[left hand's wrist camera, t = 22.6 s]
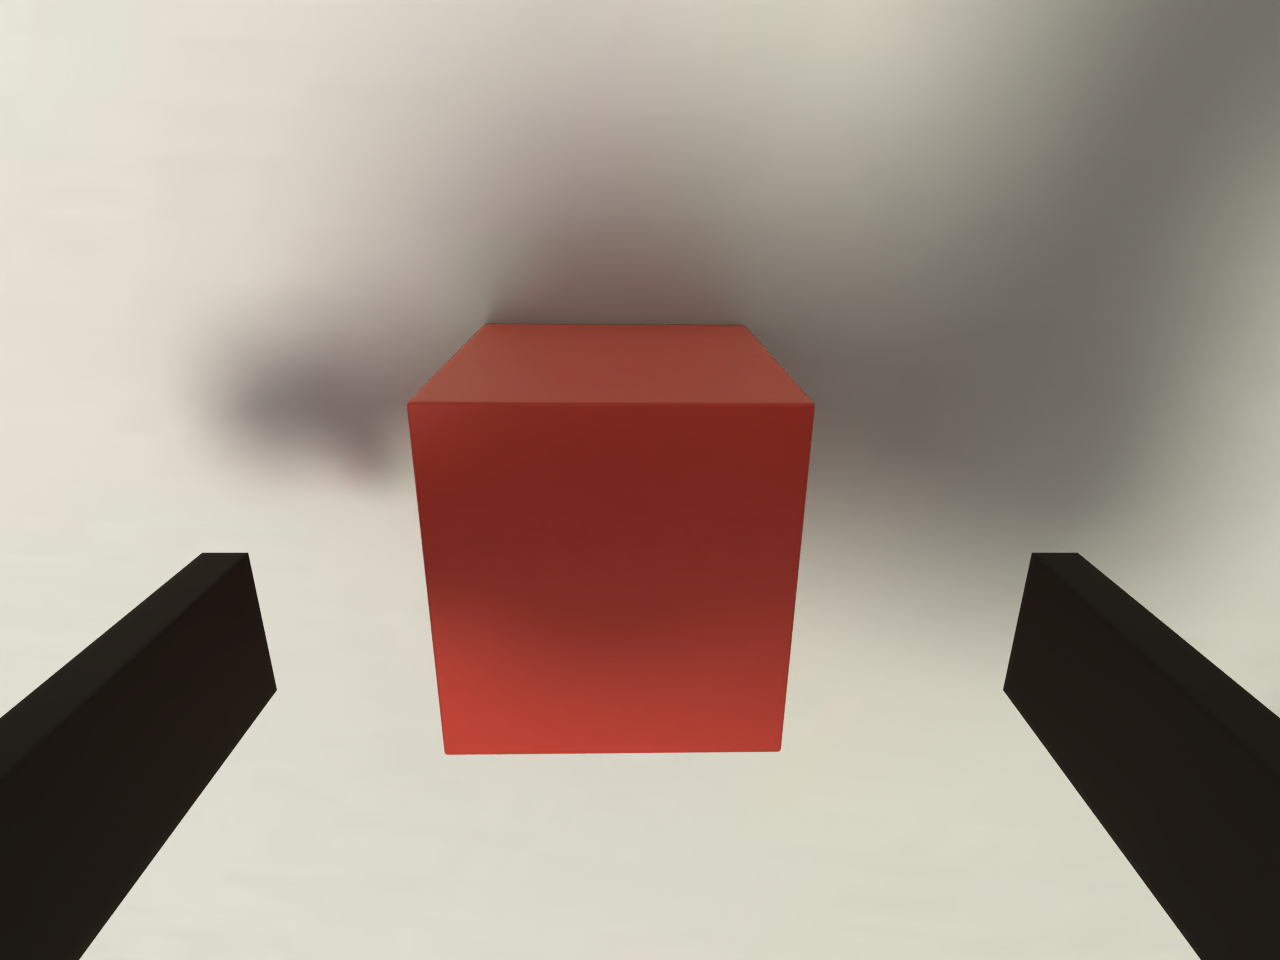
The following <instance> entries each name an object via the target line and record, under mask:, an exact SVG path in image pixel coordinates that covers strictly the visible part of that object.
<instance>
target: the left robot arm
mask: <svg viewBox="0 0 1280 960" xmlns="http://www.w3.org/2000/svg"><path fill="white" fill-rule="evenodd" d="M276 690H277V688H276V683H275V679H274V674H273V669H272V664H271V660H270V655H269V650H268V645H267V641H266V636H265V631H264V626H263V621H262V617H261V612H260V607H259V602H258V598H257V593H256V588H255V583H254V579H253V574H252V569H251V564H250V560H249V555H248V553H202V554H200V555H199V556H198V557H197V558H195V559H194V560H193V561H192V562H191V563H189V564H188V565H187V566H186V567H184V568H183V569H182V570H181V571H180V572H178V573H177V574H176V575H175V576H173V577H172V578H171V579H170V580H169V581H167V582H166V583H165V584H164V585H162V586H161V587H160V588H159V589H158V590H156V591H155V592H154V593H153V594H151V595H150V596H149V597H148V598H147V599H145V600H144V601H143V602H142V603H140V604H139V605H138V606H137V607H136V608H134V609H133V610H132V611H131V612H129V613H128V614H127V615H126V616H125V617H123V618H122V619H121V620H120V621H118V622H117V623H116V624H115V625H114V626H112V627H111V628H110V629H109V630H107V631H106V632H105V633H104V634H103V635H101V636H100V637H99V638H98V639H96V640H95V641H94V642H93V643H92V644H90V645H89V646H88V647H87V648H85V649H84V650H83V651H82V652H81V653H79V654H78V655H77V656H76V657H74V658H73V659H72V660H71V661H70V662H68V663H67V664H66V665H65V666H63V667H62V668H61V669H60V670H59V671H57V672H56V673H55V674H54V675H52V676H51V677H50V678H49V679H48V680H46V681H45V682H44V683H43V684H41V685H40V686H39V687H38V688H37V689H35V690H34V691H33V692H32V693H30V694H29V695H28V696H27V697H26V698H24V699H23V700H22V701H21V702H19V703H18V704H17V705H16V706H14V707H13V708H12V709H11V710H10V711H8V712H7V713H6V714H5V715H3V716H2V717H1V718H0V960H79V959H80V958H81V956H82V955H83V954H84V952H85V951H86V950H87V948H88V947H89V945H90V944H91V943H92V941H93V940H94V939H95V937H96V936H97V935H98V933H99V932H100V930H101V929H102V928H103V926H104V925H105V924H106V922H107V921H108V920H109V918H110V917H111V915H112V914H113V913H114V911H115V910H116V909H117V907H118V906H119V905H120V903H121V902H122V900H123V899H124V898H125V896H126V895H127V894H128V892H129V891H130V890H131V888H132V887H133V885H134V884H135V883H136V881H137V880H138V879H139V877H140V876H141V875H142V873H143V872H144V870H145V869H146V868H147V866H148V865H149V864H150V862H151V861H152V860H153V858H154V857H155V855H156V854H157V853H158V851H159V850H160V849H161V847H162V846H163V845H164V843H165V842H166V840H167V839H168V838H169V836H170V835H171V834H172V832H173V831H174V830H175V828H176V827H177V825H178V824H179V823H180V821H181V820H182V819H183V817H184V816H185V815H186V813H187V812H188V810H189V809H190V808H191V806H192V805H193V804H194V802H195V801H196V800H197V798H198V797H199V795H200V794H201V793H202V791H203V790H204V789H205V787H206V786H207V785H208V783H209V782H210V780H211V779H212V778H213V776H214V775H215V774H216V772H217V771H218V770H219V768H220V767H221V765H222V764H223V763H224V761H225V760H226V759H227V757H228V756H229V755H230V753H231V752H232V750H233V749H234V748H235V746H236V745H237V744H238V742H239V741H240V740H241V738H242V737H243V735H244V734H245V733H246V731H247V730H248V729H249V727H250V726H251V725H252V723H253V722H254V720H255V719H256V718H257V716H258V715H259V714H260V712H261V711H262V710H263V708H264V707H265V705H266V704H267V703H268V701H269V700H270V699H271V697H272V696H273V695H274V693H275V692H276ZM1003 690H1004V692H1005V693H1006V695H1007V696H1008V697H1009V699H1010V700H1011V701H1012V703H1013V704H1014V705H1015V707H1016V708H1017V710H1018V711H1019V712H1020V714H1021V715H1022V716H1023V718H1024V719H1025V720H1026V722H1027V723H1028V725H1029V726H1030V727H1031V729H1032V730H1033V731H1034V733H1035V734H1036V735H1037V737H1038V738H1039V740H1040V741H1041V742H1042V744H1043V745H1044V746H1045V748H1046V749H1047V750H1048V752H1049V753H1050V755H1051V756H1052V757H1053V759H1054V760H1055V761H1056V763H1057V764H1058V765H1059V767H1060V768H1061V770H1062V771H1063V772H1064V774H1065V775H1066V776H1067V778H1068V779H1069V780H1070V782H1071V783H1072V785H1073V786H1074V787H1075V789H1076V790H1077V791H1078V793H1079V794H1080V795H1081V797H1082V798H1083V800H1084V801H1085V802H1086V804H1087V805H1088V806H1089V808H1090V809H1091V810H1092V812H1093V813H1094V815H1095V816H1096V817H1097V819H1098V820H1099V821H1100V823H1101V824H1102V825H1103V827H1104V828H1105V830H1106V831H1107V832H1108V834H1109V835H1110V836H1111V838H1112V839H1113V840H1114V842H1115V843H1116V845H1117V846H1118V847H1119V849H1120V850H1121V851H1122V853H1123V854H1124V855H1125V857H1126V858H1127V860H1128V861H1129V862H1130V864H1131V865H1132V866H1133V868H1134V869H1135V870H1136V872H1137V873H1138V875H1139V876H1140V877H1141V879H1142V880H1143V881H1144V883H1145V884H1146V885H1147V887H1148V888H1149V890H1150V891H1151V892H1152V894H1153V895H1154V896H1155V898H1156V899H1157V900H1158V902H1159V903H1160V905H1161V906H1162V907H1163V909H1164V910H1165V911H1166V913H1167V914H1168V915H1169V917H1170V918H1171V920H1172V921H1173V922H1174V924H1175V925H1176V926H1177V928H1178V929H1179V930H1180V932H1181V933H1182V935H1183V936H1184V937H1185V939H1186V940H1187V941H1188V943H1189V944H1190V945H1191V947H1192V948H1193V950H1194V951H1195V952H1196V954H1197V955H1198V956H1199V958H1200V959H1201V960H1280V718H1279V717H1278V716H1277V715H1275V714H1274V713H1273V712H1272V711H1270V710H1269V709H1268V708H1267V707H1266V706H1264V705H1263V704H1262V703H1261V702H1259V701H1258V700H1257V699H1256V698H1255V697H1253V696H1252V695H1251V694H1250V693H1248V692H1247V691H1246V690H1245V689H1243V688H1242V687H1241V686H1240V685H1239V684H1237V683H1236V682H1235V681H1234V680H1232V679H1231V678H1230V677H1229V676H1228V675H1226V674H1225V673H1224V672H1223V671H1221V670H1220V669H1219V668H1218V667H1217V666H1215V665H1214V664H1213V663H1212V662H1210V661H1209V660H1208V659H1207V658H1206V657H1204V656H1203V655H1202V654H1201V653H1199V652H1198V651H1197V650H1196V649H1195V648H1193V647H1192V646H1191V645H1190V644H1188V643H1187V642H1186V641H1185V640H1184V639H1182V638H1181V637H1180V636H1179V635H1177V634H1176V633H1175V632H1174V631H1173V630H1171V629H1170V628H1169V627H1168V626H1166V625H1165V624H1164V623H1163V622H1162V621H1160V620H1159V619H1158V618H1157V617H1155V616H1154V615H1153V614H1152V613H1151V612H1149V611H1148V610H1147V609H1146V608H1144V607H1143V606H1142V605H1141V604H1140V603H1138V602H1137V601H1136V600H1135V599H1133V598H1132V597H1131V596H1130V595H1129V594H1127V593H1126V592H1125V591H1124V590H1122V589H1121V588H1120V587H1119V586H1118V585H1116V584H1115V583H1114V582H1113V581H1111V580H1110V579H1109V578H1108V577H1107V576H1105V575H1104V574H1103V573H1102V572H1100V571H1099V570H1098V569H1097V568H1096V567H1094V566H1093V565H1092V564H1091V563H1089V562H1088V561H1087V560H1086V559H1085V558H1083V557H1082V556H1081V555H1080V554H1078V553H1032V555H1031V560H1030V564H1029V569H1028V574H1027V579H1026V583H1025V588H1024V593H1023V598H1022V602H1021V607H1020V612H1019V617H1018V621H1017V626H1016V631H1015V636H1014V641H1013V645H1012V650H1011V655H1010V660H1009V664H1008V669H1007V674H1006V679H1005V683H1004V688H1003Z"/></svg>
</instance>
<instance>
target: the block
mask: <svg viewBox="0 0 1280 960" xmlns="http://www.w3.org/2000/svg"><path fill="white" fill-rule="evenodd" d="M814 409H815V405H814V403H813V402H812V401H811V400H810V399H809V397H808V396H807V395H806V394H805V393H804V392H803V391H802V390H801V388H800V387H799V386H798V385H797V384H796V383H795V382H794V381H793V379H792V378H791V377H790V376H789V375H788V374H787V373H786V372H785V370H784V369H783V368H782V367H781V366H780V365H779V364H778V363H777V361H776V360H775V359H774V358H773V357H772V356H771V355H770V354H769V353H768V351H767V350H766V349H765V348H764V347H763V346H762V345H761V344H760V342H759V341H758V340H757V339H756V338H755V337H754V336H753V335H752V333H751V332H750V331H749V330H748V329H747V328H746V327H745V326H744V325H607V324H485V325H484V326H483V327H482V328H481V329H480V330H479V331H478V332H477V333H476V334H475V335H474V336H473V337H472V338H471V339H470V340H469V341H468V342H467V343H466V344H465V345H464V346H463V347H462V348H461V349H460V350H459V351H458V352H457V353H456V354H455V355H454V356H453V357H452V358H451V359H450V360H449V361H448V362H447V363H446V364H445V365H444V366H443V367H442V368H441V369H440V370H439V371H438V372H437V373H436V374H435V375H434V376H433V377H432V378H431V379H430V380H429V381H428V382H427V383H426V384H425V385H424V386H423V387H422V388H421V389H420V390H419V391H418V392H417V393H416V394H415V395H414V396H413V397H412V398H411V399H410V400H409V401H408V403H407V411H408V420H409V430H410V439H411V448H412V457H413V466H414V475H415V485H416V494H417V503H418V512H419V521H420V530H421V540H422V549H423V558H424V567H425V576H426V585H427V595H428V604H429V613H430V622H431V631H432V641H433V650H434V659H435V668H436V677H437V686H438V696H439V705H440V714H441V723H442V732H443V741H444V751H445V754H447V755H466V754H574V753H682V752H778V751H780V749H781V742H782V732H783V721H784V711H785V701H786V691H787V681H788V671H789V661H790V651H791V641H792V631H793V621H794V610H795V600H796V590H797V580H798V570H799V560H800V550H801V540H802V530H803V520H804V510H805V499H806V489H807V479H808V469H809V459H810V449H811V439H812V429H813V419H814Z"/></svg>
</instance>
